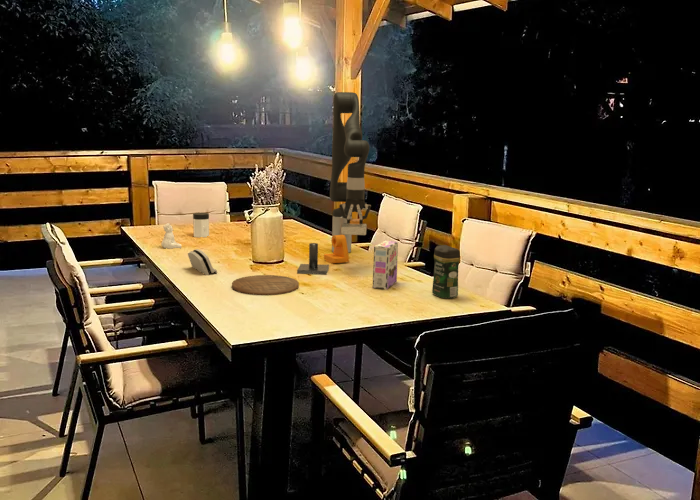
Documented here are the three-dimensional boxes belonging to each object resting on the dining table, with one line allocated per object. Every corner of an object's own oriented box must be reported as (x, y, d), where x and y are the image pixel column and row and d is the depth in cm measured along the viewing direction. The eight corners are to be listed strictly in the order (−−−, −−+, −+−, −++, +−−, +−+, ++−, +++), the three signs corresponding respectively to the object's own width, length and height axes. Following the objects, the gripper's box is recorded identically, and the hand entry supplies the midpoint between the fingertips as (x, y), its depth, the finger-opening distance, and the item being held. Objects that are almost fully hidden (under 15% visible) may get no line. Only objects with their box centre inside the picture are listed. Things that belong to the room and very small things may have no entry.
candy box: (386, 290, 254) (388, 247, 251) (372, 288, 256) (373, 245, 253) (397, 282, 267) (398, 241, 264) (383, 280, 269) (384, 239, 266)
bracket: (323, 260, 305) (323, 233, 303) (337, 258, 308) (337, 232, 306) (334, 264, 296) (334, 237, 293) (348, 263, 299) (349, 236, 297)
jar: (198, 238, 351) (197, 215, 348) (189, 236, 356) (189, 213, 354) (212, 236, 357) (212, 213, 355) (204, 234, 363) (204, 212, 360)
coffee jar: (428, 293, 251) (430, 244, 247) (446, 291, 254) (448, 243, 250) (443, 300, 242) (445, 249, 238) (461, 298, 246) (464, 247, 242)
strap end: (343, 227, 292) (343, 218, 291) (366, 228, 291) (366, 219, 291) (341, 234, 275) (341, 224, 274) (365, 235, 275) (365, 225, 274)
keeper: (300, 267, 289) (301, 240, 287) (328, 268, 288) (329, 241, 286) (297, 273, 277) (297, 246, 275) (326, 274, 277) (326, 247, 274)
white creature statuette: (182, 248, 323) (182, 223, 321) (165, 250, 318) (164, 225, 316) (175, 245, 331) (175, 221, 329) (158, 246, 326) (157, 222, 324)
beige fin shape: (218, 274, 273) (209, 251, 270) (207, 279, 271) (199, 256, 268) (203, 265, 287) (195, 244, 284) (193, 270, 285) (185, 249, 282)
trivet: (225, 282, 262) (225, 277, 261) (286, 277, 271) (286, 273, 271) (241, 298, 239) (241, 293, 239) (308, 293, 249) (308, 288, 249)
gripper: (372, 187, 288) (371, 227, 292) (339, 186, 289) (338, 226, 292) (372, 189, 281) (371, 230, 284) (338, 188, 281) (337, 229, 285)
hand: (354, 228), depth 288 cm, fingers closed on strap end, 4 cm apart
